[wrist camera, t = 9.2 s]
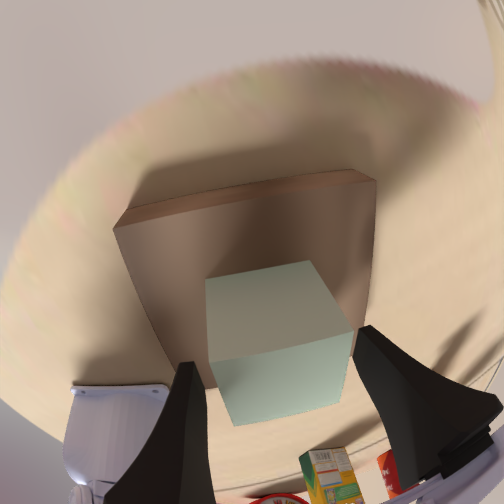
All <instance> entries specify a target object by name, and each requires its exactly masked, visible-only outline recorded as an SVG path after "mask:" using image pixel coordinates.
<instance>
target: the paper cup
mask: <svg viewBox="0 0 504 504" xmlns="http://www.w3.org/2000/svg"><path fill="white" fill-rule="evenodd" d="M377 461H378V464H379V467H380V470H381V473H382V476H383V479H384V482H385V485H386V488H387V491H388V495H389V498H390V499H392V498H394V497H396V496H398V495H401V494H403V493H405V492H407V491H409V490H411V489H412V488H414V487H416V486H418V485H420V484H419V483H418V484H416V485H414V486H412V487H410V488H408V489H406V490H404V491H402V489H401V487H400V484H399V478H398V473H397V468H396V463H395V459H394V456H393V452H392V450H389V451H387V452H385V453H384V454H382V455H380V456H379V457H378V458H377Z"/></svg>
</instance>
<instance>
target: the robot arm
mask: <svg viewBox="0 0 504 504" xmlns="http://www.w3.org/2000/svg"><path fill="white" fill-rule="evenodd" d="M352 358H353V361H354V363H355V366H356V369H357V371H358V374H359V376H360V378H361V380H362V382H363V384H364V386H365V388H366V390H367V392H368V393H369V395H370V397H371V399H372V401H373V403H374V405H375V407H376V409H377V410H378V412H379V415H380V417H381V419H382V422H383V424H384V427H385V430H386V433H387V436H388V439H389V442H390V445H391V448H392V452H393V456H394V459H395V463H396V468H397V473H398V478H399V484H400V487H401V489H402V491H404V490H406V489H408V488H410V487H412V486H414V485H416V484H418V483H419V482H421V481H423V480H425V482H424V483H422V484H420V485H418V486H416V487H414V488H412V489H411V490H409V491H407V492H405V493H403V494H401V495H398V496H396V497H394V498H392V499H390V500H388V501H386V502H383V503H381V504H409V503H410V502H412V501H414V500H416V499H417V501H416V504H478V503H479V502H480V501H482V500H483V498H485V496H487V495H488V494H489V493H490V492H491V491H492V490H493V489H494V488H495V487H496V486H497V484H499V483H500V482H501V481H502V480H503V478H504V425H502V426H501V427H500V428H499V429H498V430H497V431H496V432H494V433H493V434H492V435H491V436H490V435H489V433H488V432H490V431H491V429H490V427H489V424H490V423H491V422H492V421H493V420H494V419H495V418H496V417H497V416H498V415H499V414H500V413H501V412H502V410H503V405H502V404H501V402H500V401H499V399H498V398H497V396H496V395H494V394H490V393H487V392H482V391H479V390H475V389H472V388H469V387H466V386H464V385H461V384H459V383H456V382H454V381H452V380H450V379H447V378H445V377H443V376H441V375H440V374H438V373H436V372H434V371H432V370H431V369H429V368H427V367H426V366H424V365H423V364H421V363H420V362H418V361H417V360H415V359H414V358H412V357H411V356H409V355H408V354H407V353H406V352H404V351H403V350H402V349H400V348H399V347H398V346H396V345H395V344H394V343H393V342H391V341H390V340H389V339H388V338H386V337H385V336H384V335H383V334H381V333H380V332H379V331H378V330H376V329H375V328H374V327H373V326H371V325H368V326H364V327H361V328H359V329H358V334H357V338H356V343H355V348H354V352H353V356H352ZM70 390H71V392H72V393H73V394H74V395H75V396H74V400H73V403H72V407H71V411H70V415H69V420H68V424H67V428H66V433H65V438H64V442H63V460H64V464H65V468H66V470H67V472H68V473H69V475H70V477H71V478H72V479H73V480H74V481H75V482H76V483H78V484H79V485H78V486H76V487H74V488H73V489H72V490H71V492H70V495H69V499H68V504H216V501H215V496H214V491H213V486H212V480H211V474H210V467H209V460H208V435H207V402H206V394H205V387H204V385H203V382H202V380H201V377H200V375H199V372H198V370H197V367H196V365H195V362H194V361H189V362H180V363H179V364H178V367H177V371H176V374H175V377H174V380H173V383H172V386H171V389H170V391H169V389H168V387H167V386H165V385H163V384H155V385H137V386H72V387H71V389H70Z"/></svg>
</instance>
